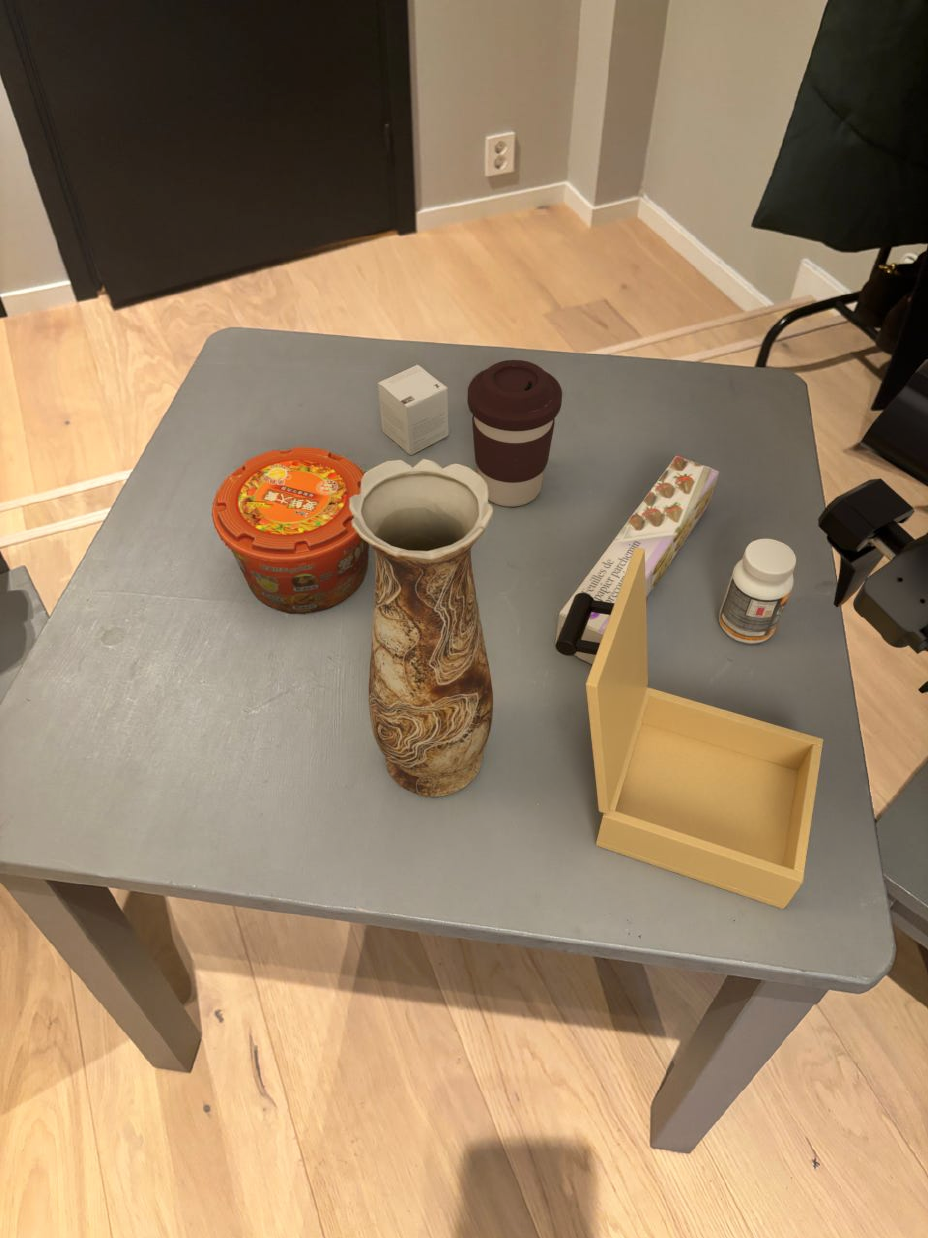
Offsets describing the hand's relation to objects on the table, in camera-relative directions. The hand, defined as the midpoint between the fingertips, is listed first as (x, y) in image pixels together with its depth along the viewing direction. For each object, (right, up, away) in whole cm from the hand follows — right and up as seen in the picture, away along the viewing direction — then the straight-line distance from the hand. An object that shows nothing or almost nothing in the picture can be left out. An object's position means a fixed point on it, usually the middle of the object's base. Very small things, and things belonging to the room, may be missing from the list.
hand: (879, 645), depth 72 cm
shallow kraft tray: (-13, -14, +6) cm, 20 cm away
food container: (-50, +7, +24) cm, 56 cm away
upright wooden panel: (-21, -3, -3) cm, 21 cm away
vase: (-36, -10, +9) cm, 39 cm away
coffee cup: (-28, +17, +32) cm, 46 cm away
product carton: (-39, +25, +38) cm, 60 cm away
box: (-15, +7, +23) cm, 29 cm away
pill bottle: (-5, +1, +19) cm, 20 cm away
